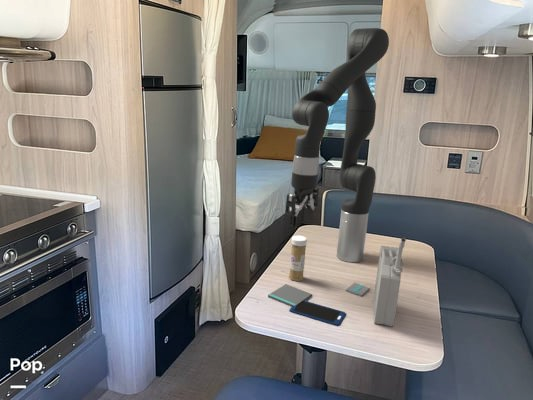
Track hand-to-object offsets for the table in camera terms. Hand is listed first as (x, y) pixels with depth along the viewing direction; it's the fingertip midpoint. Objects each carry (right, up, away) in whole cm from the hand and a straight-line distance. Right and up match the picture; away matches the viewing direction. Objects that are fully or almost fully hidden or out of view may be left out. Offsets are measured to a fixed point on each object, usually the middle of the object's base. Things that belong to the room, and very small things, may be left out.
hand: (300, 224), depth 130 cm
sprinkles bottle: (-1, -17, +5) cm, 18 cm away
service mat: (-3, -20, -6) cm, 21 cm away
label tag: (+17, -20, 0) cm, 26 cm away
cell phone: (+3, -23, -14) cm, 27 cm away
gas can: (+21, -24, -14) cm, 35 cm away
